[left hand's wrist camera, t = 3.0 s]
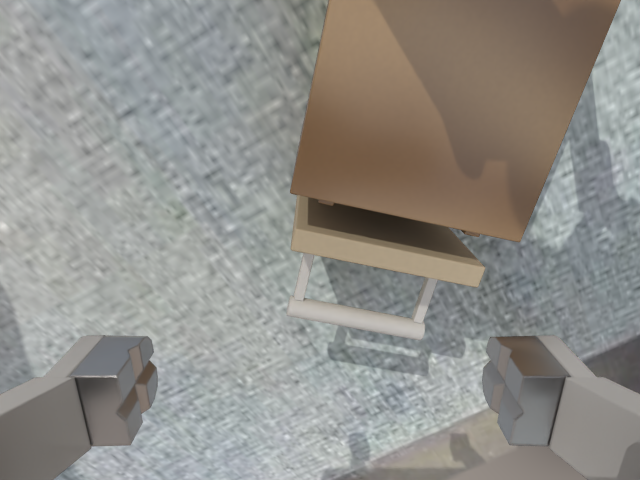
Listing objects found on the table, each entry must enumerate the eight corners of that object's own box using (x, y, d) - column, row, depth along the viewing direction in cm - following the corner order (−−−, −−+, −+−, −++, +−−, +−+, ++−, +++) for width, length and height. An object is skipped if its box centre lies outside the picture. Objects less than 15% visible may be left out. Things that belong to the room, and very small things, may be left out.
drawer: (407, 291, 33) (444, 374, 24) (281, 267, 32) (270, 343, 23) (533, -90, 25) (668, -191, 15) (368, -139, 24) (404, -278, 14)
